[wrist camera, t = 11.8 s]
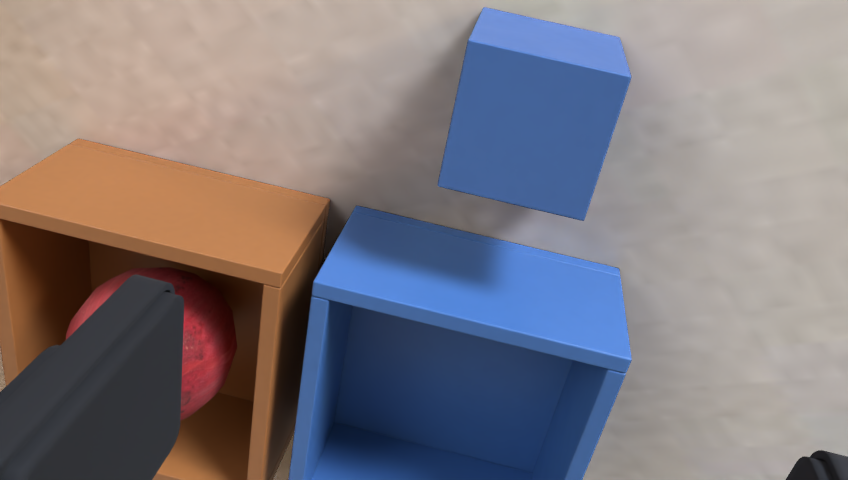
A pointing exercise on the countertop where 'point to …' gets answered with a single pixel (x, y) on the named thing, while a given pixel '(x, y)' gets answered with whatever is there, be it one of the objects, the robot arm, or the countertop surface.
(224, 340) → the onion
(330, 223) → the countertop surface
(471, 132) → the blue block
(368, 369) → the blue bin
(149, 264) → the brown bin
